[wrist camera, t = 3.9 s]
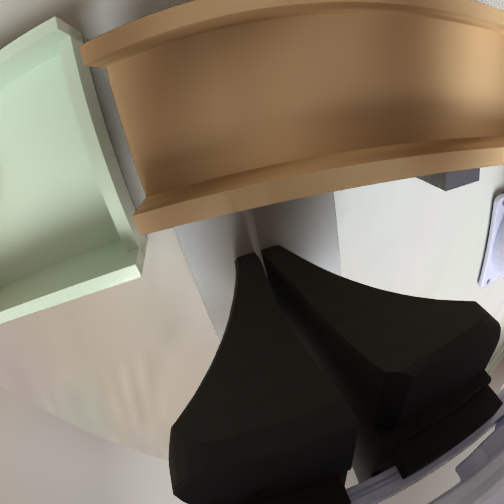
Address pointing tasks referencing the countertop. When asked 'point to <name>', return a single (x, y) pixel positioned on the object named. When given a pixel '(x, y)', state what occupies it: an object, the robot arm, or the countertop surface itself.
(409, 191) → the countertop surface
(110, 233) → the dish
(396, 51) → the lever
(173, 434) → the robot arm
